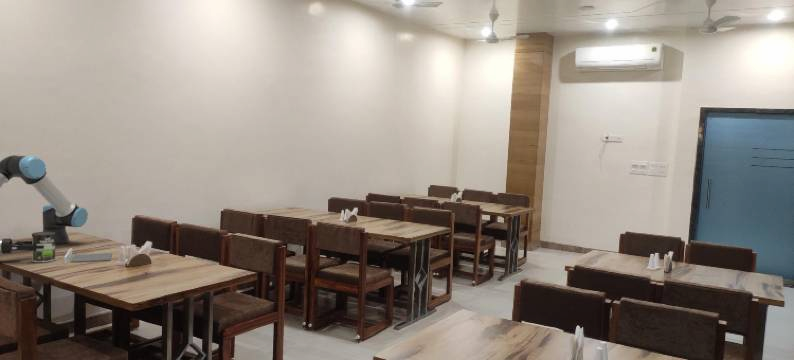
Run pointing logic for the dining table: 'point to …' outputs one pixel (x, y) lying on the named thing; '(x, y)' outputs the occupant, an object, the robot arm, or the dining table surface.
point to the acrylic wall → (68, 256)
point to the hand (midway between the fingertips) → (53, 244)
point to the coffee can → (44, 254)
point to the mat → (91, 257)
